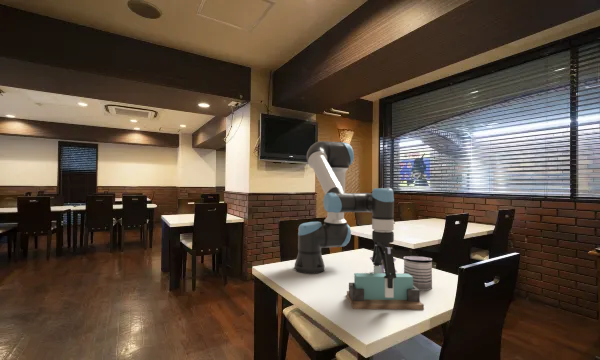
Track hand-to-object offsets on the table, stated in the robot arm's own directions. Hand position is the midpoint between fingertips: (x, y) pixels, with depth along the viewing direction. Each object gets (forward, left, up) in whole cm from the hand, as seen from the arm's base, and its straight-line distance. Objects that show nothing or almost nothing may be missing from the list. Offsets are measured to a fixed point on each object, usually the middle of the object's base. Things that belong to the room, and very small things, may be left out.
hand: (382, 289), depth 98 cm
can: (+20, +17, -4) cm, 27 cm away
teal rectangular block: (0, 0, -3) cm, 3 cm away
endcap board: (0, 0, -4) cm, 4 cm away
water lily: (+11, +35, -5) cm, 37 cm away
